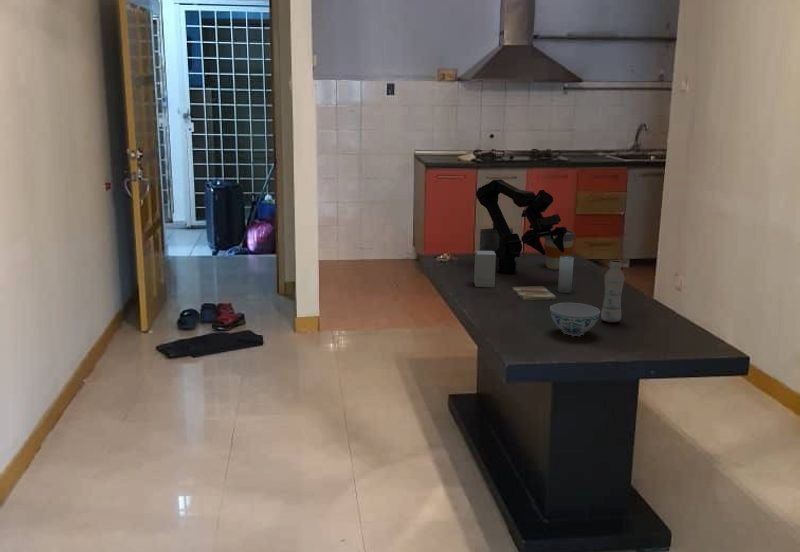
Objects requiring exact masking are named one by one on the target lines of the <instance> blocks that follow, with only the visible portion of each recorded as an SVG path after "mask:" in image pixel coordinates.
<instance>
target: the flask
mask: <svg viewBox="0 0 800 552" xmlns="http://www.w3.org/2000/svg"><path fill="white" fill-rule="evenodd" d="M509 229H510V231H511V233H513V234H514V228H512V227H509ZM479 230H480V231H479V249H478V251H494V252H496V250H497V249H498V248H499V247H500V246H499V240H500V237H499V234H498V232H497V230H496V228H495V226H494V223H493V222H492V228H490V227H489V228H480V229H479ZM495 254H496V253H495ZM495 267H499V258H498V257H496V264H495Z"/></svg>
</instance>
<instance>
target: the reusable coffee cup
mask: <svg viewBox="0 0 800 552" xmlns="http://www.w3.org/2000/svg"><path fill="white" fill-rule="evenodd" d="M554 229H555V228H552V229H550V231H553V230H554ZM567 231H568V232H567V233H566V234H565V235H564V237H563V244H564V252H563V253H562V252H561V251H560V250H559V249H558V248H557V247H556V245H555V244H554V243H553V242H552V241H553V240H552V239H551V237H543V239H544V244H543V248H544V250H545V253H546V254H545V255H544V256H545V264H546V265H545V266H546V268H547V267H548V269H551V270H557V269H559V264H560V256H572V255H573V250H574V240H575V231H572V230H568V229H567ZM572 257H573V256H572Z"/></svg>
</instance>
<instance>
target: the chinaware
mask: <svg viewBox="0 0 800 552" xmlns="http://www.w3.org/2000/svg"><path fill="white" fill-rule="evenodd" d="M549 313H550V315H551V319H552V321H553V323H554V324H555V326H556V327H557V328H558V329H560V330H561V333H562V332H563V333H564V334H563V333H562V334H563V335H565V334H568V335H572V336H571V337H574V336H578V337H582V336H581V335H583V336H584V335H585V333H586V332H588V331H589V330H591V329H592V328H593V327H594V326H595V325H596V323H597V322H598V320H599V317H600V315H601V310H600V309H599V308H598V307H596V306H593V305H590V304H586V303H577V302H559V303H554V304H552V305H550V306H549Z"/></svg>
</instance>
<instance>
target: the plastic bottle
mask: <svg viewBox="0 0 800 552" xmlns="http://www.w3.org/2000/svg"><path fill="white" fill-rule="evenodd" d="M608 268H609V269H608V270H607V271H606V272H605V274H604V277H603V279H604V281H603V282H604V283H603V284H604V296H603V302H602V308H601V310H600V317H601V319H602V321H604V322H607V323H618V322H619V321H620V320H621V319H622V308H621V307H622V292H623V288H624V283H625V278H626V277H625V275H624V272H623V270H622V269H621V268H622V261H620V260H613V259H612V260H610V261H609V265H608Z"/></svg>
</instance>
